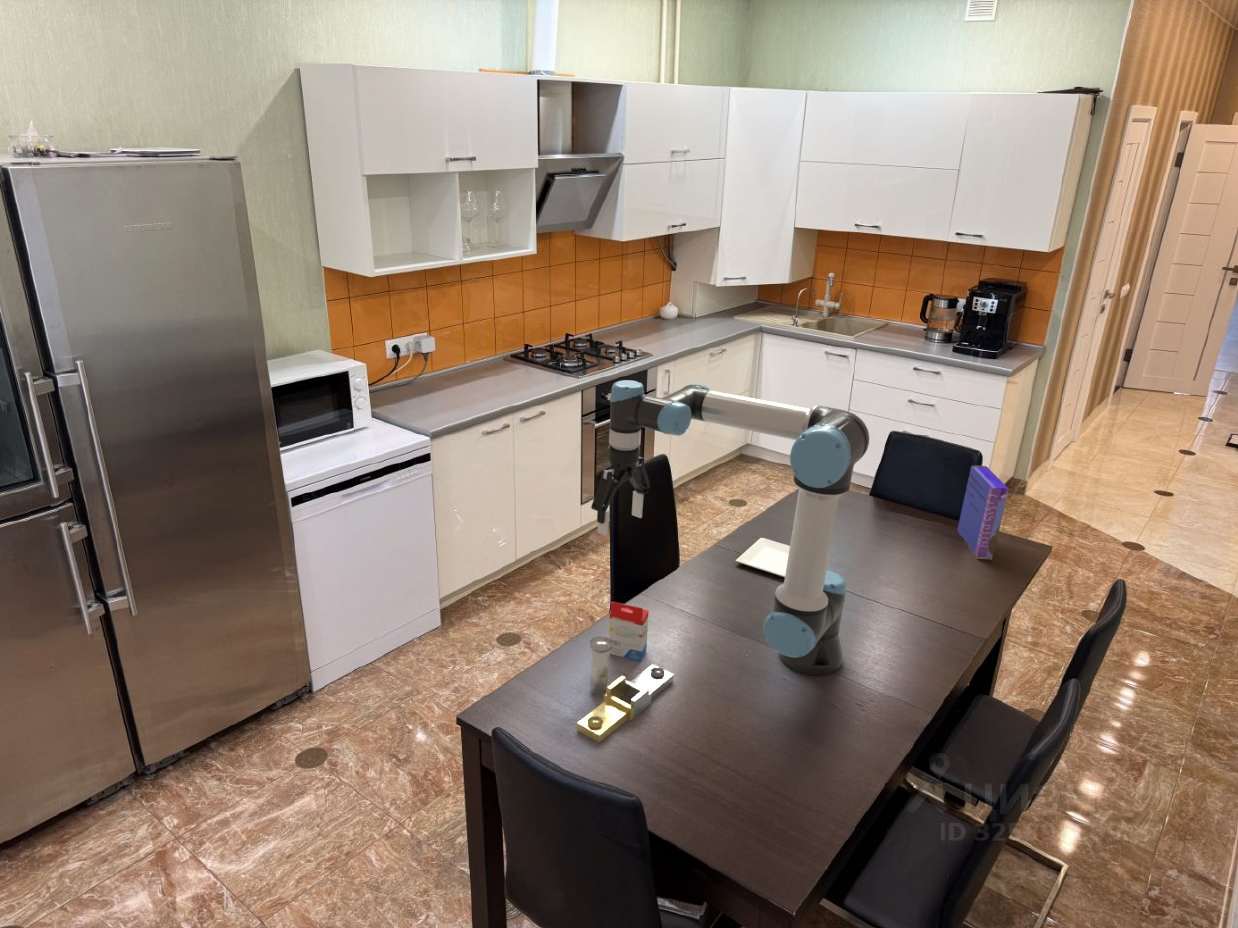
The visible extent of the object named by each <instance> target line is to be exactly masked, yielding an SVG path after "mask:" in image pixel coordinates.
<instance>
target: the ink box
mask: <svg viewBox="0 0 1238 928" xmlns="http://www.w3.org/2000/svg"><path fill="white" fill-rule="evenodd" d="M648 626H649V609H643V608H642V607H639V606H633V605H630V604H626V603H625V604H624V603H621V602H616V601H611V603H610V611H609V627H608V628H609V631H608V633H609V634H608V638H609V639H611V640H612V648H611V650H610V655H613V656H617V657H621V658H624V659H629V660H634V661H638V662H641V661H642V660H643V658H644V656H645V654H646V652H647V649H648V628H649V627H648Z"/></svg>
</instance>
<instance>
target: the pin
mask: <svg viewBox="0 0 1238 928" xmlns="http://www.w3.org/2000/svg"><path fill="white" fill-rule="evenodd" d="M589 648H590V649H591V661H590V663H591V664H590V684H589V685H590V687H589V692H590V693H591V694H592V695H593V696H597V697H600V696H601V697H602V696H603V697H604V695H605V694H606V693H607V687H608V686H609V675H610V656H611V654H610V650H611V648H612V640H611V639H609V636H608V637H607V636H603V635H601V636H600V635H599V636H594V637H592V638H591V639H590V641H589Z"/></svg>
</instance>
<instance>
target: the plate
mask: <svg viewBox="0 0 1238 928" xmlns="http://www.w3.org/2000/svg"><path fill="white" fill-rule="evenodd" d="M789 549H790V545H788V544H785V543H782V542H778V541H775V540H772V539H768V538H765V537H760V538H759V539H758V540H757V541H755V542H754V543H753V544H752V545H751V546H750V547H749V548H748V549H746V550H745V551H744V552H743V553H742V554H741V555H740V556H739V557H738V558H737V559H735V562H736V563H738V564H741V565H744V566H747V567H750V568H753V569H757V570H759V571H762V572H765V573H768V574H773V575H775V576H778V577H781V578H784V579H785V574H786V568H787V561H788V555H789Z"/></svg>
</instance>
